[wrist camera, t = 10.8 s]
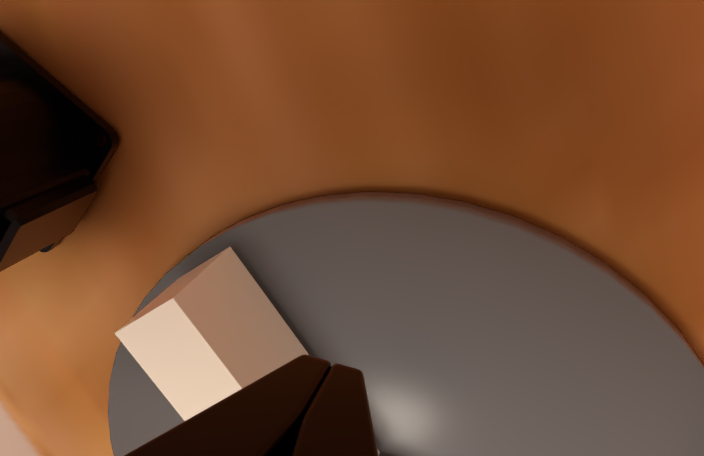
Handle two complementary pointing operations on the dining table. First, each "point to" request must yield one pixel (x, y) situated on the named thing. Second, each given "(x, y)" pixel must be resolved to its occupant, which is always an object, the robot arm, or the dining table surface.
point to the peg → (209, 335)
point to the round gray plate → (455, 332)
